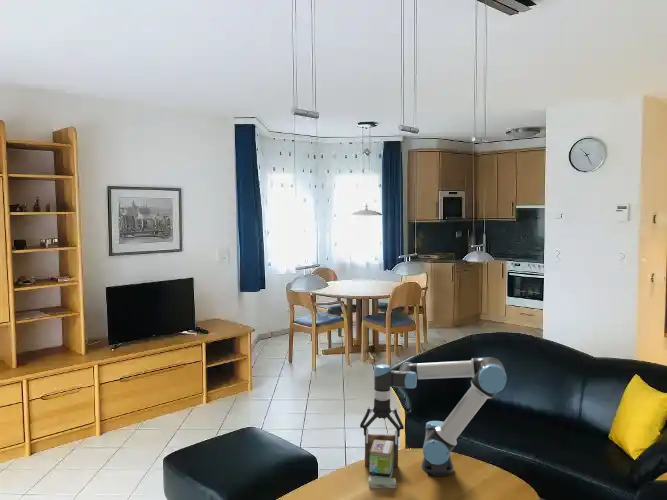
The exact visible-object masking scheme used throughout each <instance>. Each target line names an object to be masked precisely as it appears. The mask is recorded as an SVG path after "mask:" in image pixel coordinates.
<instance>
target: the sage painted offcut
mask: <svg viewBox="0 0 667 500" xmlns="http://www.w3.org/2000/svg"><path fill="white" fill-rule="evenodd" d="M368 484H369V485H370V484H380V485H396V484H397V480H396V477H391V478H377V477H369V476H368Z"/></svg>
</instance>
